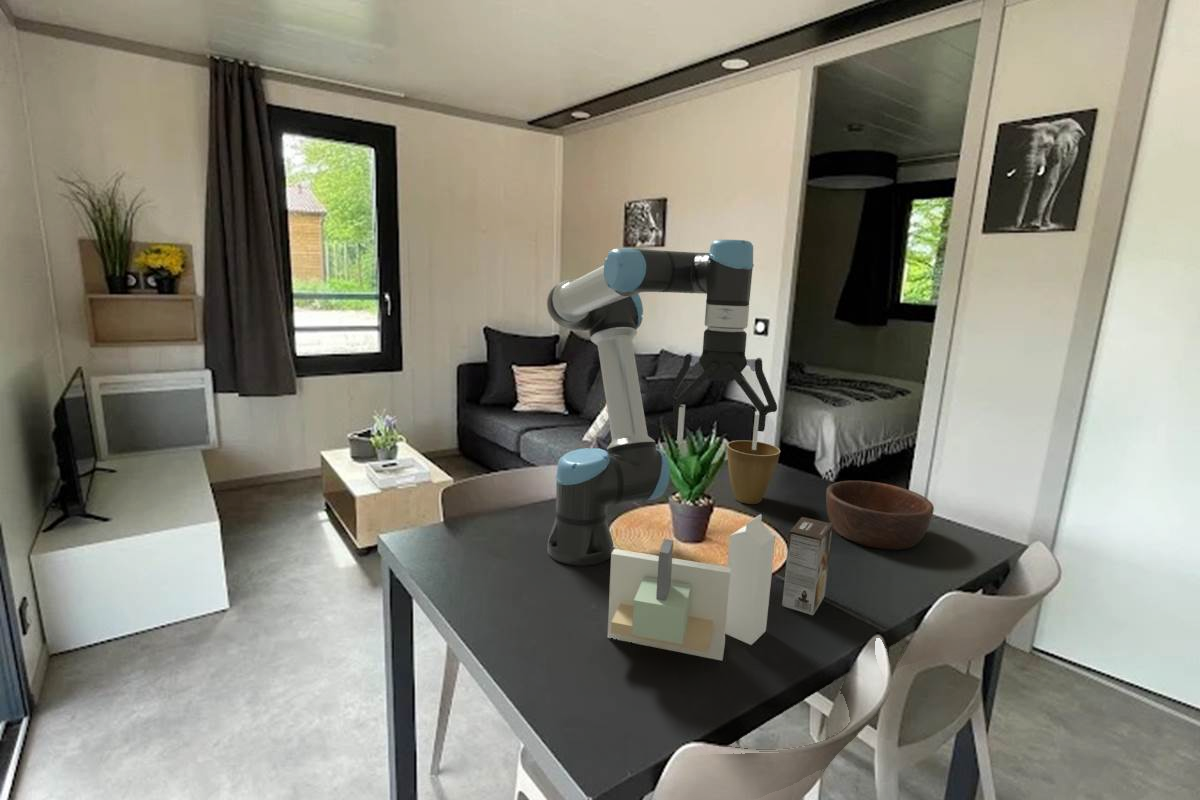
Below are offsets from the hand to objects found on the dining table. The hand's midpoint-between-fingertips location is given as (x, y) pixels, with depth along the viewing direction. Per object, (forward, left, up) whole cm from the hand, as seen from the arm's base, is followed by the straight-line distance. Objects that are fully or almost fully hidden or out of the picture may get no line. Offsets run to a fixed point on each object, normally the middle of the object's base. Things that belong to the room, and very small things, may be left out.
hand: (716, 444), depth 112 cm
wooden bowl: (+38, +50, -33) cm, 71 cm away
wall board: (-5, -18, -33) cm, 38 cm away
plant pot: (+6, +63, -33) cm, 71 cm away
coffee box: (+19, +8, -33) cm, 39 cm away
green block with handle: (-5, -21, -26) cm, 34 cm away
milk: (+8, -7, -33) cm, 35 cm away
